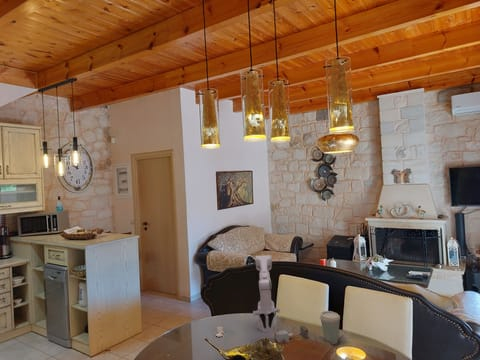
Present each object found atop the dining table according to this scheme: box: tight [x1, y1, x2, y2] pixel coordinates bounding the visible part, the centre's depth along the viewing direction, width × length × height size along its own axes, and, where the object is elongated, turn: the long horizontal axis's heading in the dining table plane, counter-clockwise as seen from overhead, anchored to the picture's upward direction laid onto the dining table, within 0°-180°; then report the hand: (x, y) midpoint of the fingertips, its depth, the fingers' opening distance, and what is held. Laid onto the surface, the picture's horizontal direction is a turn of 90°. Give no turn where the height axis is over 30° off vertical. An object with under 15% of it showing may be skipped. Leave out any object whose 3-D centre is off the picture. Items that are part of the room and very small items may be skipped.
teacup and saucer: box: [215, 326, 224, 338], centre depth 198 cm, size 9×8×4 cm
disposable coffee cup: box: [319, 310, 341, 345], centre depth 181 cm, size 11×11×15 cm
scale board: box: [274, 325, 309, 344], centre depth 184 cm, size 18×12×6 cm, turn 104°
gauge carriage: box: [274, 330, 294, 344], centre depth 182 cm, size 9×7×4 cm
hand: (267, 327), depth 181 cm, fingers closed
